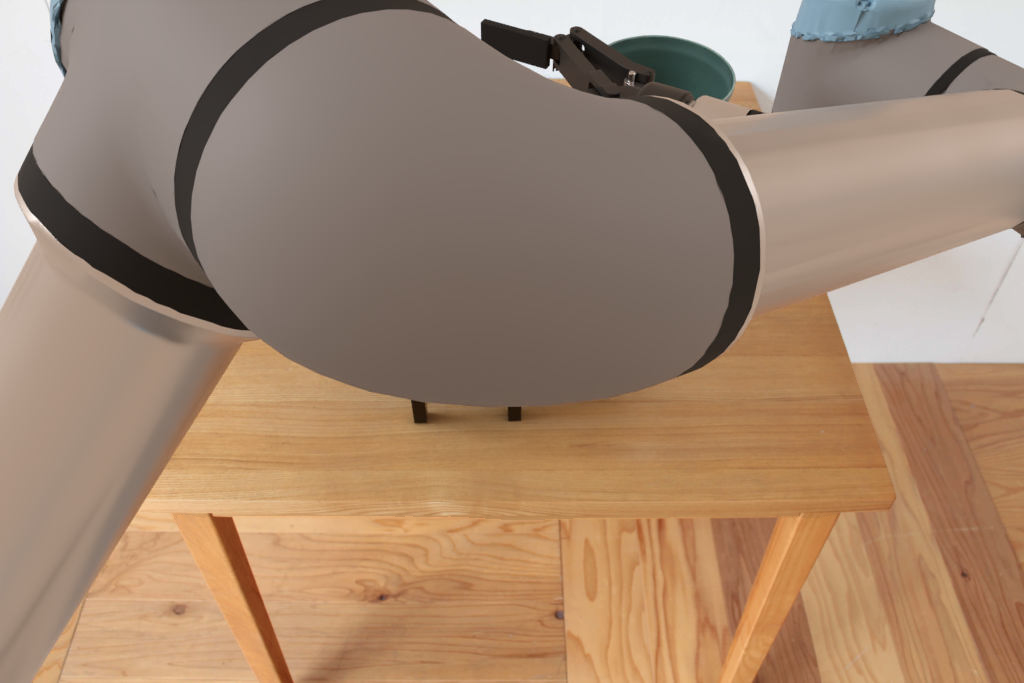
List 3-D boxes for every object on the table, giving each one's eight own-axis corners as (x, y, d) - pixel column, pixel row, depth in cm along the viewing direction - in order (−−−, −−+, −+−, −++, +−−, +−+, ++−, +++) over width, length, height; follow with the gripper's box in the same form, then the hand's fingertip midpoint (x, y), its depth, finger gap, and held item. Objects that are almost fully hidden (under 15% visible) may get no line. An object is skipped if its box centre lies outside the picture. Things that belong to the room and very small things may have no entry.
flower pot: (714, 117, 108) (731, 38, 100) (721, 199, 97) (741, 117, 89) (586, 109, 109) (593, 30, 101) (580, 189, 98) (586, 108, 90)
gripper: (610, 278, 61) (363, 188, 67) (724, 104, 75) (512, 44, 82) (621, 195, 55) (350, 106, 62) (742, 24, 70) (513, -33, 76)
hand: (442, 70), depth 72 cm, fingers open, 13 cm apart
